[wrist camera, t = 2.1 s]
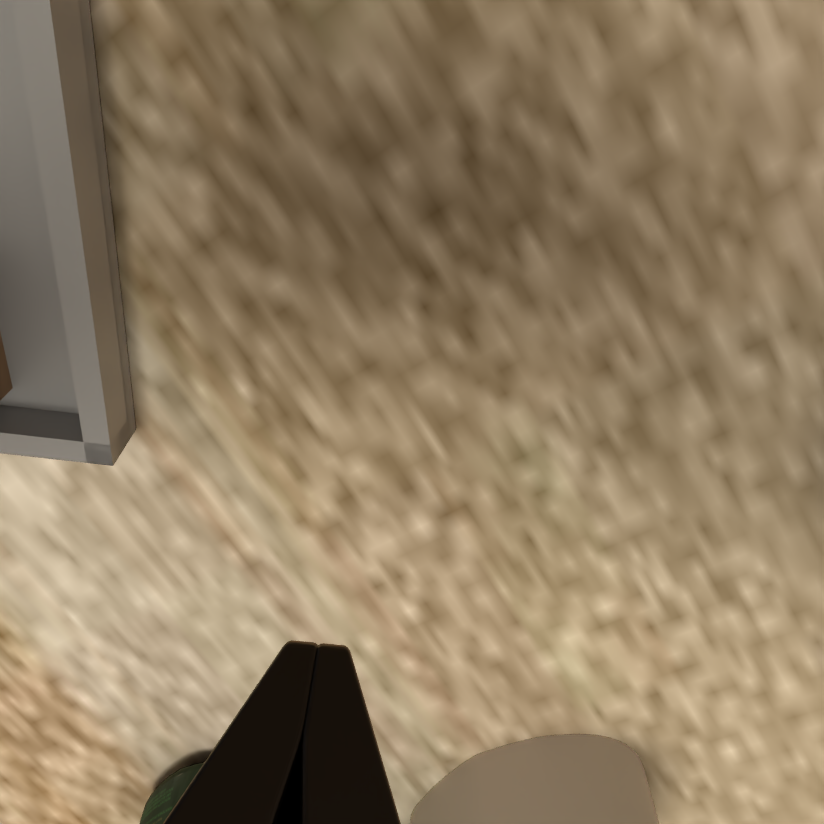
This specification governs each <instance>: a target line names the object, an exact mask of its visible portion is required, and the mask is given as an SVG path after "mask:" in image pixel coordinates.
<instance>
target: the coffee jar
mask: <svg viewBox="0 0 824 824" xmlns="http://www.w3.org/2000/svg"><path fill="white" fill-rule="evenodd" d="M203 764H204V763H200V764H195V765H192V766H189V767H184V768H182V769H180V770H178V771H177V772H175V773H174V774H172V775H170V776H169V777H168V778H167V779H166V780H165V781H163V782H162V783H161V784H160V785H159V786H158V787H157V788H156V790H155V791H154V792H153V793H152V794H151V796H150V798H149V799H148V801H147V803H146V805H145V808H144V811H143V814H142V818H141V821H140V824H163V823H164V822H165V820H166V819H167V817H168V816H169V814H170V813H171V811H172V810H173V808H174V807H175V805H176V804H177V802H178V801H179V799H180V798H181V796H182V795H183V793H184V792H185V791H186V789H187V788H188V786H189V785H190V783H191V782H192V780H193V779H194V777H195V776H196V774H197V773H198V771H199V770H200V768H201V767H202V765H203Z"/></svg>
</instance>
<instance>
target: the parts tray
mask: <svg viewBox="0 0 824 824" xmlns="http://www.w3.org/2000/svg"><path fill="white" fill-rule="evenodd" d="M0 332H1V337H2V342H3V346H4V351H5V355H6V360H7V364H8V369H9V373H10V378H11V382H12V387H13V388H12V389H11V390H10V391H9V392H8V393H7V394H6V395H5V396H4V397H3V398H2V399H1V401H0V453H3V454H12V455H21V456H30V457H39V458H48V459H57V460H66V461H75V462H84V463H93V464H102V465H111V466H113V465H114V463H115V462H116V460H117V459H118V457H119V455H120V454H121V452H122V451H123V449H124V448H125V446H126V444H127V443H128V441H129V440H130V438H131V436H132V435H133V433H134V432H135V430H136V425H135V416H134V407H133V397H132V388H131V379H130V370H129V361H128V352H127V343H126V333H125V324H124V315H123V306H122V297H121V288H120V279H119V269H118V260H117V251H116V242H115V233H114V224H113V215H112V205H111V196H110V187H109V178H108V169H107V160H106V151H105V141H104V132H103V123H102V114H101V105H100V96H99V86H98V77H97V68H96V59H95V50H94V41H93V32H92V22H91V13H90V4H89V0H0Z"/></svg>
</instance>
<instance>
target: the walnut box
mask: <svg viewBox="0 0 824 824" xmlns="http://www.w3.org/2000/svg"><path fill="white" fill-rule="evenodd" d="M12 388H13V387H12V382H11V378H10V373H9V369H8V364H7V360H6V355H5V351H4V346H3V342H2V337H1V332H0V401H1V399H2V398H3V397H4V396H5V395H6V394H7V393H8V392H9V391H10V390H11V389H12Z"/></svg>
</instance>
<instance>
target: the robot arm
mask: <svg viewBox="0 0 824 824" xmlns="http://www.w3.org/2000/svg"><path fill="white" fill-rule="evenodd" d="M163 824H401V823H400V820H399V816H398V813H397V809H396V806H395V803H394V799H393V796H392V792H391V789H390V786H389V782H388V779H387V775H386V772H385V768H384V765H383V762H382V758H381V755H380V751H379V748H378V745H377V741H376V738H375V734H374V731H373V728H372V724H371V721H370V717H369V714H368V710H367V707H366V704H365V700H364V697H363V693H362V690H361V687H360V683H359V680H358V676H357V673H356V670H355V666H354V663H353V659H352V656H351V653H350V650H349V649H348V647H346V646H344V645H334V644H324V643H323V644H320V645H317V644H316V643H313V642H303V641H289V642H287V643H286V644H285V645H284V646H283V647H282V649H281V650H280V652H279V653H278V655H277V656H276V658H275V659H274V661H273V662H272V664H271V665H270V667H269V668H268V670H267V671H266V673H265V674H264V675H263V677H262V678H261V680H260V681H259V683H258V684H257V686H256V687H255V689H254V690H253V692H252V693H251V695H250V696H249V698H248V699H247V701H246V702H245V704H244V705H243V706H242V708H241V709H240V711H239V712H238V714H237V715H236V717H235V718H234V720H233V721H232V723H231V724H230V726H229V727H228V729H227V730H226V732H225V733H224V734H223V736H222V737H221V739H220V740H219V742H218V743H217V745H216V746H215V748H214V749H213V751H212V752H211V754H210V755H209V757H208V758H207V760H206V761H205V763H204V764H203V765H202V767H201V768H200V770H199V771H198V773H197V774H196V776H195V777H194V779H193V780H192V782H191V783H190V785H189V786H188V788H187V789H186V791H185V792H184V793H183V795H182V796H181V798H180V799H179V801H178V802H177V804H176V805H175V807H174V808H173V810H172V811H171V813H170V814H169V816H168V817H167V819H166V820H165V822H164V823H163Z"/></svg>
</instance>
